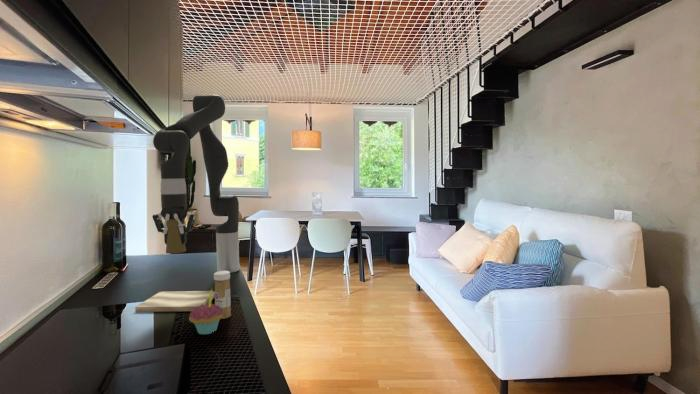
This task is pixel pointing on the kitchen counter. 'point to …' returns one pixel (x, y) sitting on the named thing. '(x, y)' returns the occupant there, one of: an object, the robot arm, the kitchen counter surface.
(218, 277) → the sprinkles bottle
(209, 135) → the robot arm
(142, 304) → the birch board
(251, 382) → the kitchen counter surface
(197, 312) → the cupcake
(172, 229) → the cork
